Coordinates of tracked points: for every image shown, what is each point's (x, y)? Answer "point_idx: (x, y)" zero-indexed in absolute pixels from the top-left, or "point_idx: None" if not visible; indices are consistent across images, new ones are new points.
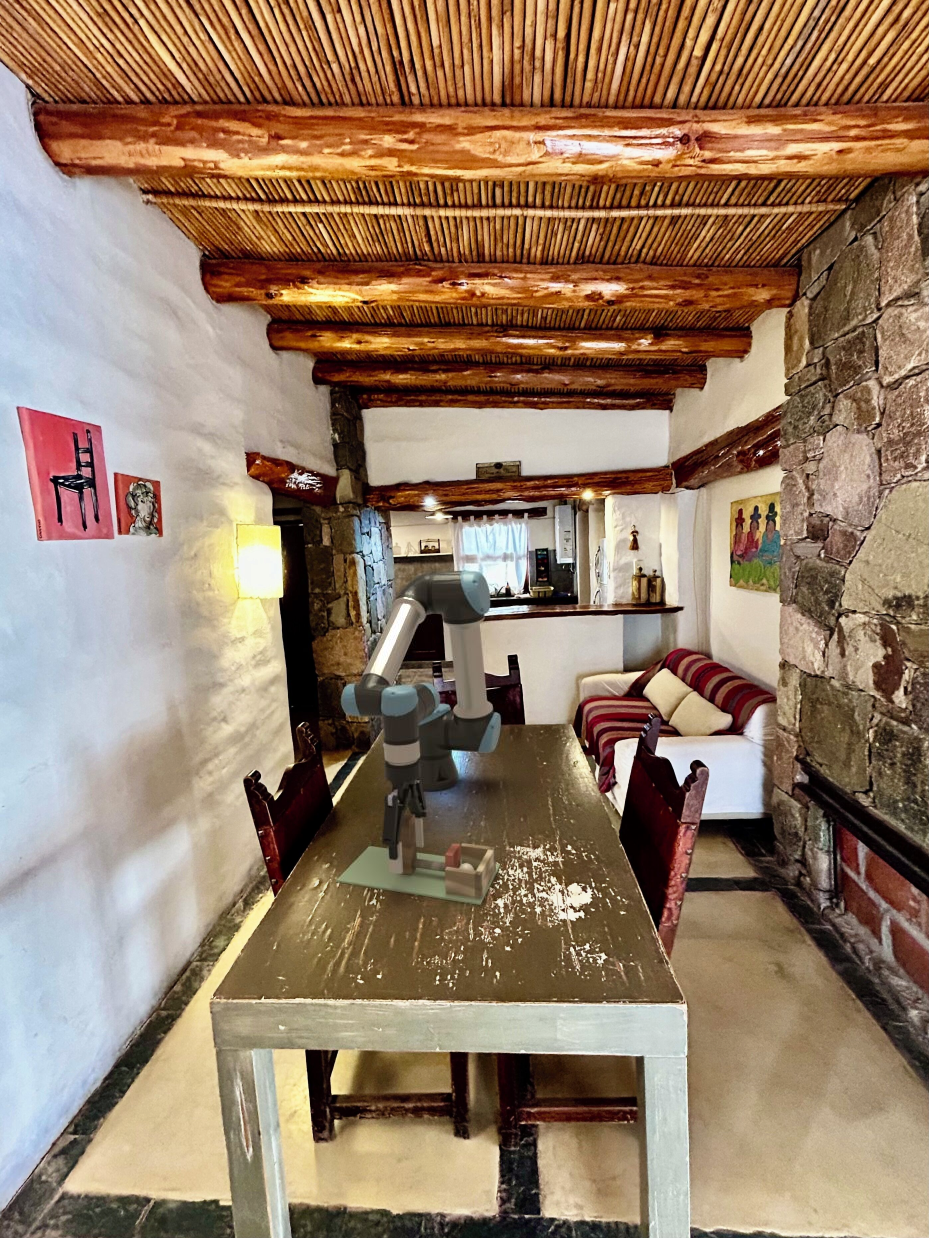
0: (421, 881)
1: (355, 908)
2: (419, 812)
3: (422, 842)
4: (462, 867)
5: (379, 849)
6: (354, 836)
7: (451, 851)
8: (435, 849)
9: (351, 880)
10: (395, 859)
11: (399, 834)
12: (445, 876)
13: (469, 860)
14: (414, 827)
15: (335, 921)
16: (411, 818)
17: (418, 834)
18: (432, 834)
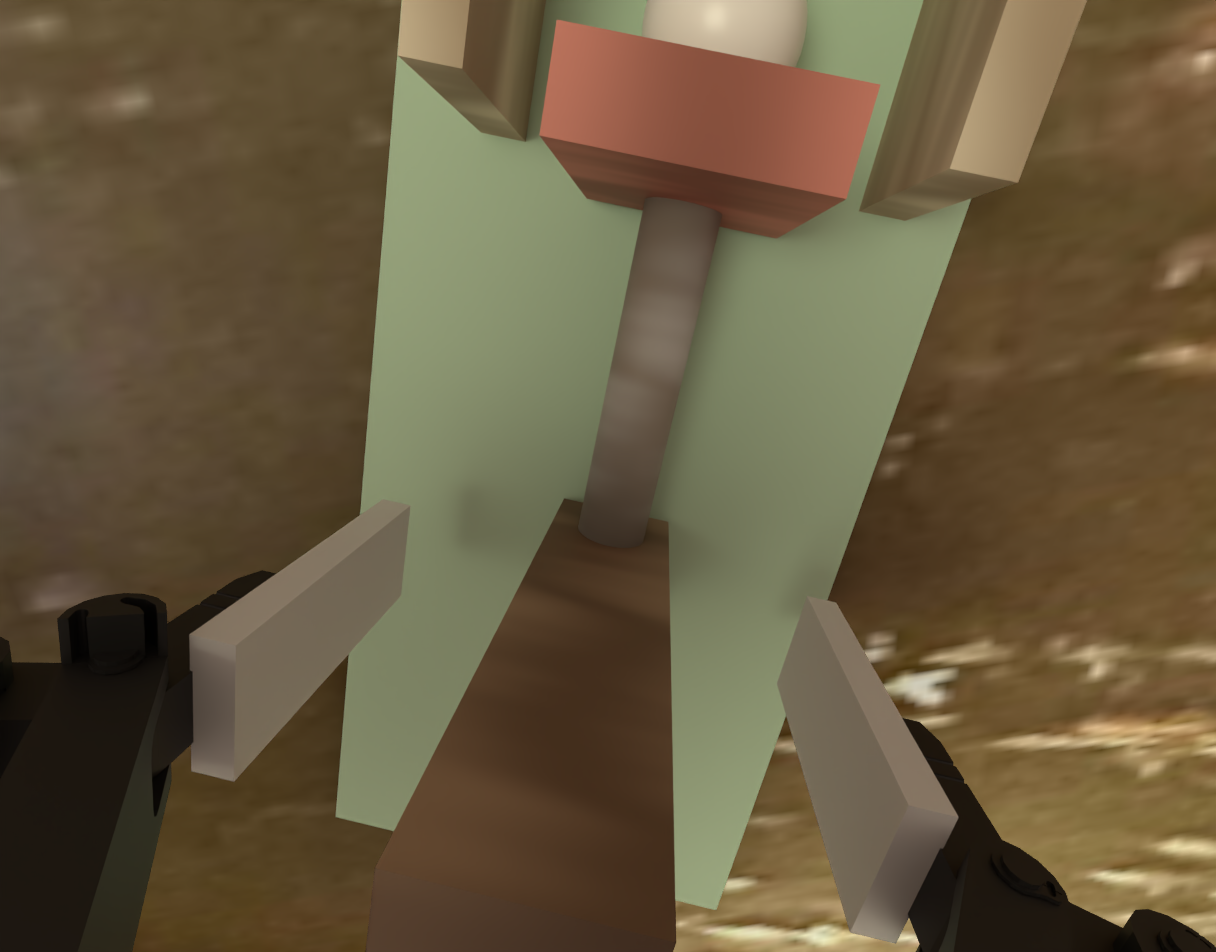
0: (733, 437)
1: (980, 765)
2: (146, 735)
3: (385, 518)
4: (768, 34)
5: (363, 758)
6: (234, 893)
7: (760, 116)
8: (271, 408)
9: (719, 841)
10: (927, 731)
11: (1001, 948)
12: (975, 192)
13: (519, 25)
14: (493, 702)
15: (1095, 835)
16: (542, 894)
17: (350, 584)
18: (79, 462)
